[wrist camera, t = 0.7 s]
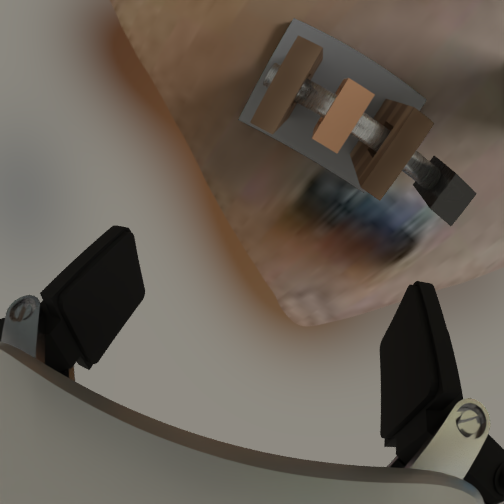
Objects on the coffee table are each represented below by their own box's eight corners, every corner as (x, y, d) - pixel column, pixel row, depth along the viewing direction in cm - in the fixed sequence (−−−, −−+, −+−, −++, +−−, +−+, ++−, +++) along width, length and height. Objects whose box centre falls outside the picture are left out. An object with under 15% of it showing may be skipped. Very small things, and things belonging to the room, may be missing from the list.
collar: (364, 92, 24) (375, 94, 19) (334, 140, 28) (337, 153, 23) (343, 79, 24) (348, 77, 19) (314, 127, 27) (311, 138, 22)
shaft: (453, 172, 25) (476, 193, 20) (432, 200, 27) (451, 226, 22) (284, 57, 23) (274, 51, 18) (265, 92, 26) (251, 94, 21)
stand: (400, 109, 27) (434, 123, 18) (363, 163, 31) (379, 200, 22) (306, 50, 26) (298, 35, 17) (272, 109, 31) (249, 122, 21)
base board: (422, 98, 27) (426, 99, 25) (362, 188, 35) (363, 192, 33) (295, 20, 25) (293, 18, 24) (241, 118, 33) (238, 119, 32)
